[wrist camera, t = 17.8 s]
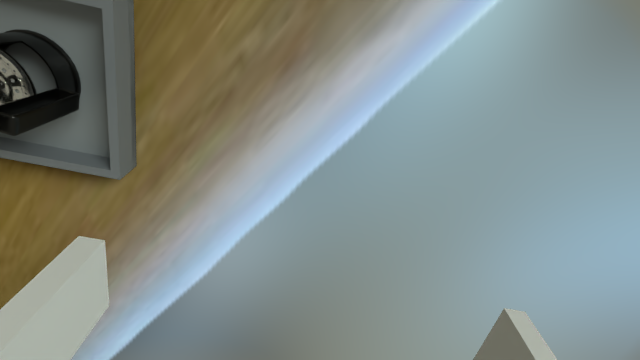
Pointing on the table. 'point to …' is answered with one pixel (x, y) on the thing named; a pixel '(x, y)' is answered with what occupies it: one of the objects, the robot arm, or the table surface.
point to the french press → (18, 89)
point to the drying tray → (96, 84)
